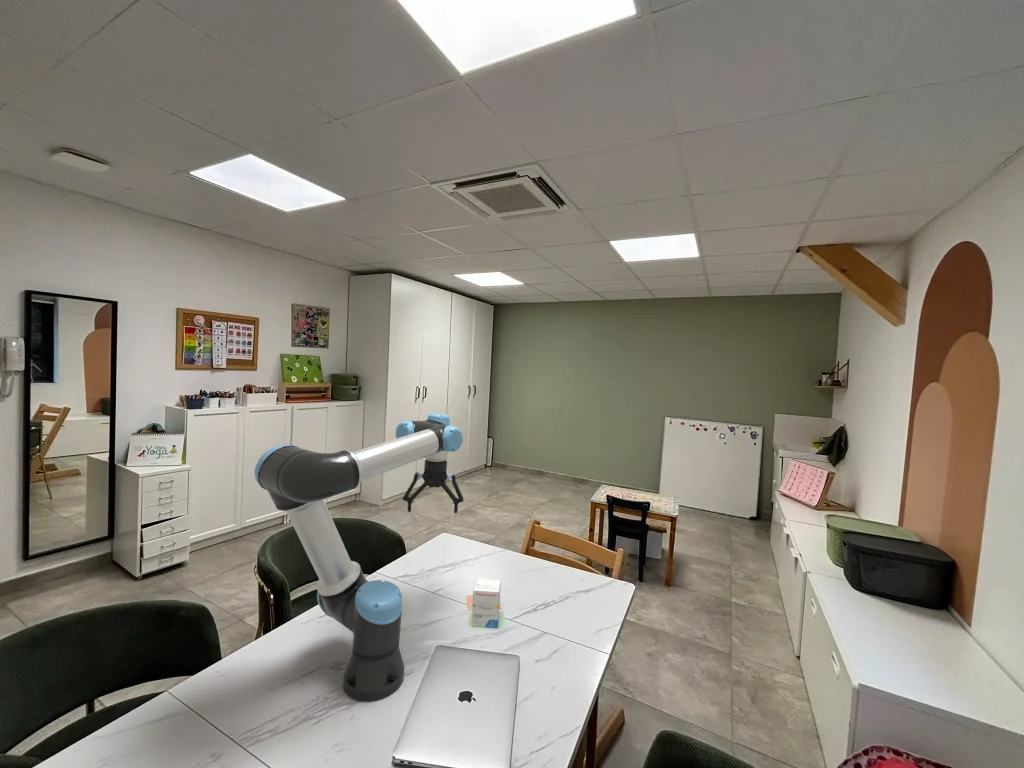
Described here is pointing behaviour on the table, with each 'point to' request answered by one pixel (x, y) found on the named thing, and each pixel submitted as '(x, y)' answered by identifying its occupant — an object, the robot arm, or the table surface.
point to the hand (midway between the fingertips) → (432, 521)
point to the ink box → (486, 603)
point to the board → (500, 626)
